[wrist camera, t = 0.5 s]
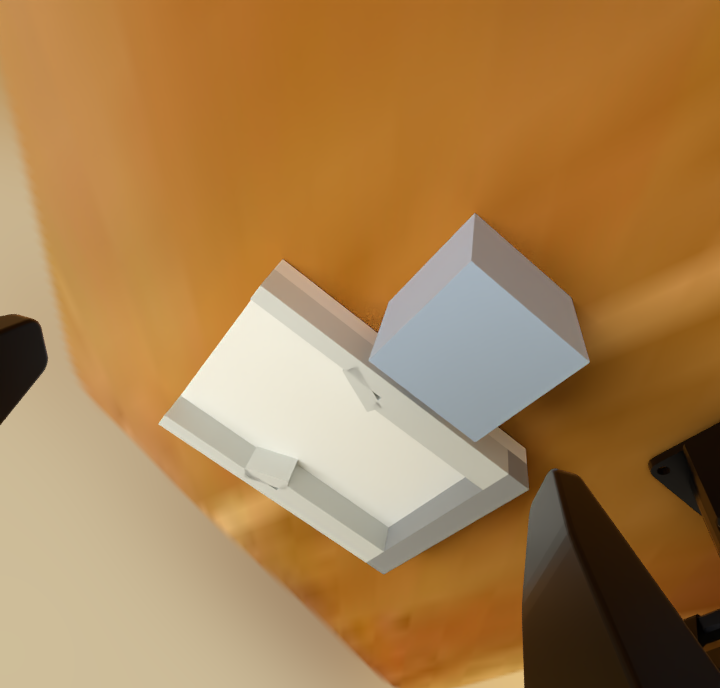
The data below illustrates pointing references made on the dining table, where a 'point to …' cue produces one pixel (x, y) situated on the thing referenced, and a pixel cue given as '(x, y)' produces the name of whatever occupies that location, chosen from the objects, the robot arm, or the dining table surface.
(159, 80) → the dining table surface
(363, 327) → the board
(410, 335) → the block
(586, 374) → the dining table surface
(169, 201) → the dining table surface
